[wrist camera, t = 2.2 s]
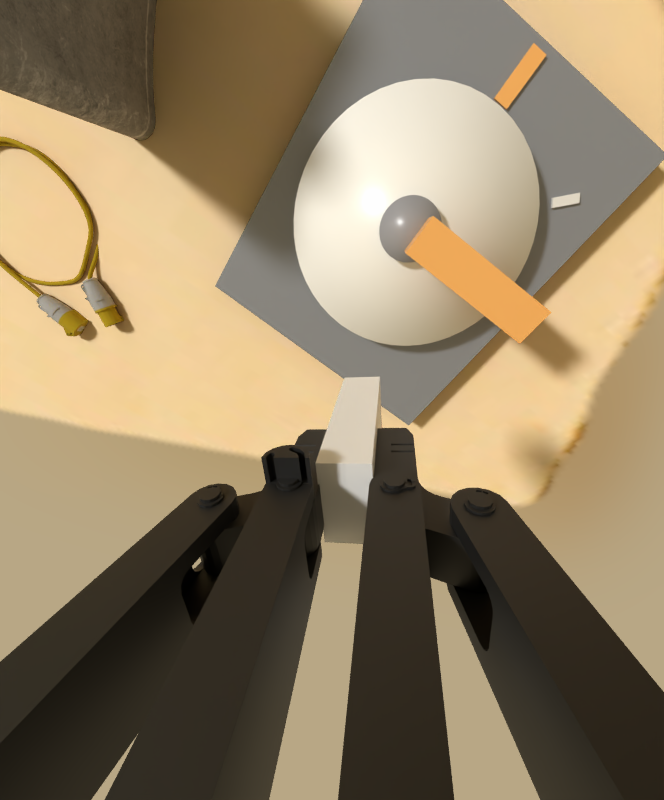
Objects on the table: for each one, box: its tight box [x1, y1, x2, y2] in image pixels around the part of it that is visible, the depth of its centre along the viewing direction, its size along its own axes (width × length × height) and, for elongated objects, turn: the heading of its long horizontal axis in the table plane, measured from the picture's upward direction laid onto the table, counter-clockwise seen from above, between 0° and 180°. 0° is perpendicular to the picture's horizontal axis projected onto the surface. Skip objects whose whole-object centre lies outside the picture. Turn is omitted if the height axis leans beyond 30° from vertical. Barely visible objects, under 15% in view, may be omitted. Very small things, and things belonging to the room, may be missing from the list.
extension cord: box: [0, 137, 124, 336], centre depth 32 cm, size 12×16×2 cm
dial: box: [294, 78, 551, 346], centre depth 24 cm, size 18×16×5 cm
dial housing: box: [215, 0, 664, 425], centre depth 27 cm, size 24×20×2 cm
